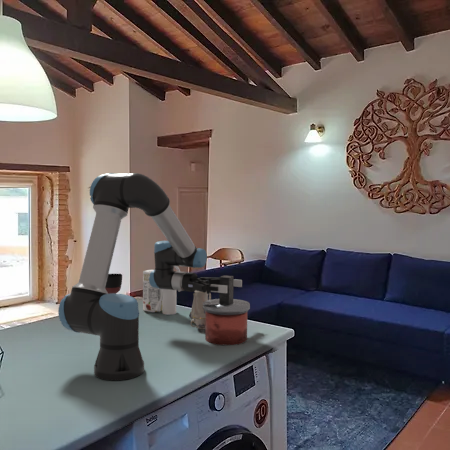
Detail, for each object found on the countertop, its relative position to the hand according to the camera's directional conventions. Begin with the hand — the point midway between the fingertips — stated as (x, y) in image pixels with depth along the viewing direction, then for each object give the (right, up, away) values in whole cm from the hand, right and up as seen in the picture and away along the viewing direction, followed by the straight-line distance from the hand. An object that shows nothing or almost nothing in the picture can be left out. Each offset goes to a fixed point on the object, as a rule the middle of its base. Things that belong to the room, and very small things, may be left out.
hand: (234, 286), depth 180 cm
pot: (-1, -20, +7) cm, 21 cm away
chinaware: (-11, -19, +26) cm, 35 cm away
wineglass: (-53, -19, +27) cm, 62 cm away
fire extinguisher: (-30, -18, +42) cm, 54 cm away
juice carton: (-38, -18, +46) cm, 62 cm away
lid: (-3, -8, +2) cm, 9 cm away
